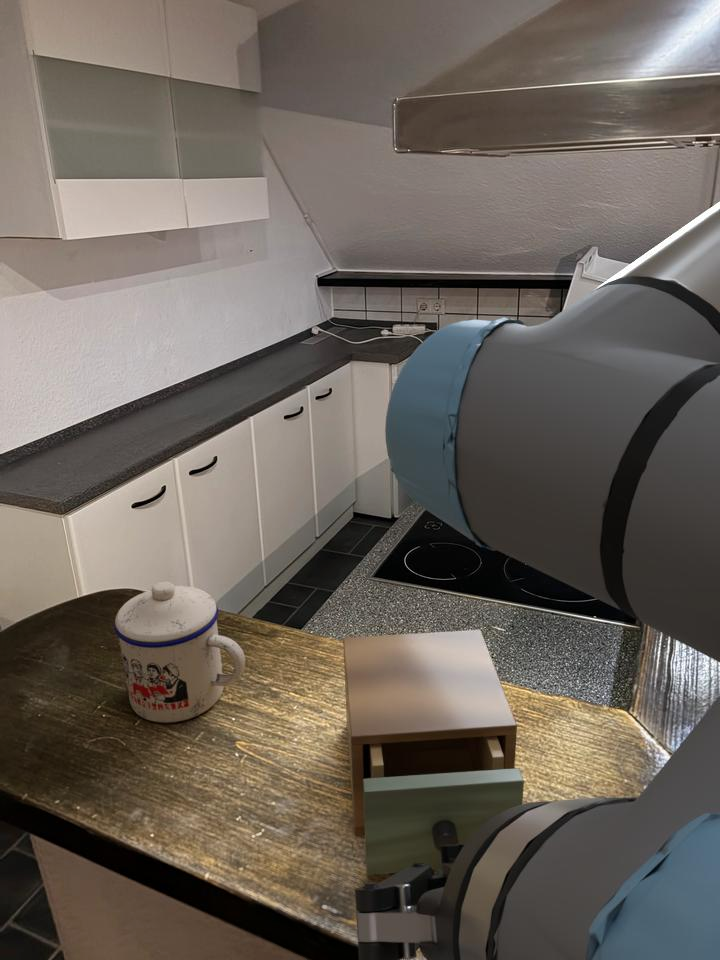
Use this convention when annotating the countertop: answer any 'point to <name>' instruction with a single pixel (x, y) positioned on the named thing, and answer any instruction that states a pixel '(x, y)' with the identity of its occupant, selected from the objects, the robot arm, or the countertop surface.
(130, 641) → the teacup with lid
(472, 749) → the drawer
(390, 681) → the cabinet
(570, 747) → the countertop surface
